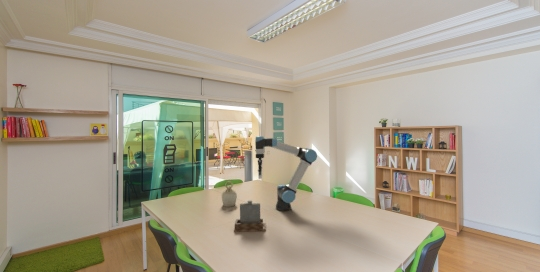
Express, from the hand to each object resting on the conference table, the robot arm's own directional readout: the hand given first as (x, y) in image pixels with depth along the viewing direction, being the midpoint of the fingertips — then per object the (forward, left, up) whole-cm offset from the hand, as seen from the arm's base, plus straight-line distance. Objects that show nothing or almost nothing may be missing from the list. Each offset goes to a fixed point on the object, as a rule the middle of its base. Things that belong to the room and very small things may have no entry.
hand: (260, 177), depth 209 cm
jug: (+33, -33, -35) cm, 58 cm away
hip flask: (+8, +27, -33) cm, 44 cm away
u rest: (+8, +27, -35) cm, 45 cm away
